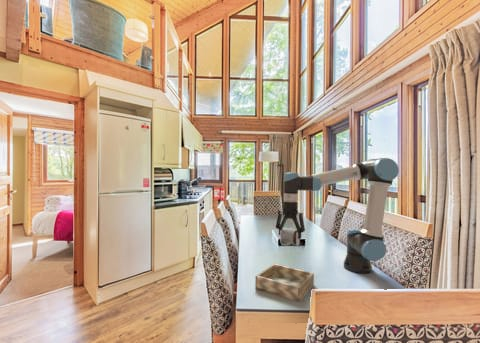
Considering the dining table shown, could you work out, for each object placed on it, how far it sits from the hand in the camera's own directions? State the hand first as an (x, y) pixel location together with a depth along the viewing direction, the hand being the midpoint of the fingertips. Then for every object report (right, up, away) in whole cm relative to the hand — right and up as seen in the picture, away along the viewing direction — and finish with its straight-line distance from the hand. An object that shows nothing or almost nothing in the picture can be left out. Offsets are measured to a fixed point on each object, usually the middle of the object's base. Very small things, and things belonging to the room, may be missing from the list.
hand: (289, 243), depth 135 cm
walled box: (-5, -18, -13) cm, 22 cm away
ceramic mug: (0, 0, -1) cm, 1 cm away
